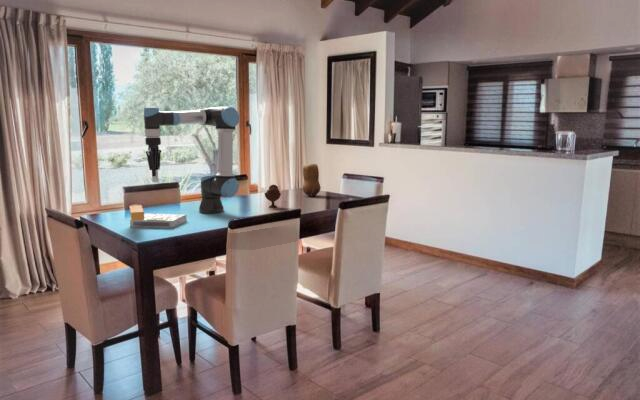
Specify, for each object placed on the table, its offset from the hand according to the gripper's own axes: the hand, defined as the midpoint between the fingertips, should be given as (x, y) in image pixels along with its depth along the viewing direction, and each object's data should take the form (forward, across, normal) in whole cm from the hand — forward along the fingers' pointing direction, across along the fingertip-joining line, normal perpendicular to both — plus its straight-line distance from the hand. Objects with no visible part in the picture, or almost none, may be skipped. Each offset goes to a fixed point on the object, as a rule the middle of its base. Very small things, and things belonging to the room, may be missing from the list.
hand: (155, 182), depth 256 cm
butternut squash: (+25, -119, +66) cm, 138 cm away
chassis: (+24, -6, -2) cm, 25 cm away
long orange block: (+17, +8, -7) cm, 20 cm away
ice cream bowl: (+25, -67, +48) cm, 86 cm away
